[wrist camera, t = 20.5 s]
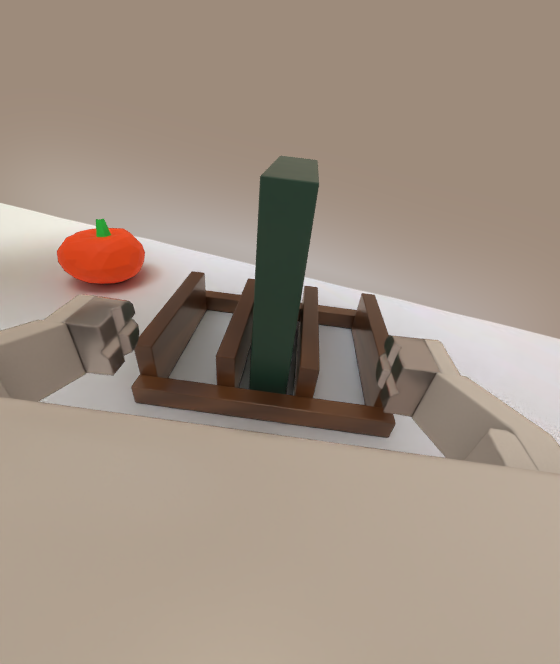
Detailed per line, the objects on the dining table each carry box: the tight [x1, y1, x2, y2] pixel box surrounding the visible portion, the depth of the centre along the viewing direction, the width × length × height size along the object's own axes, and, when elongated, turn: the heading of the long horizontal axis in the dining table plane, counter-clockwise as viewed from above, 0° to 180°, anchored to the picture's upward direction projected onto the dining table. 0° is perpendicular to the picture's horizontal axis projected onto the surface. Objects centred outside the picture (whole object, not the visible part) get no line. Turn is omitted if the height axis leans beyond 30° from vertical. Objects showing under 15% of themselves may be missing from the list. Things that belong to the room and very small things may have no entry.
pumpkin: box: [57, 219, 145, 284], centre depth 31 cm, size 7×8×6 cm
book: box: [249, 156, 319, 394], centre depth 21 cm, size 3×9×14 cm, turn 174°
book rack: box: [131, 272, 395, 437], centre depth 24 cm, size 17×13×4 cm
